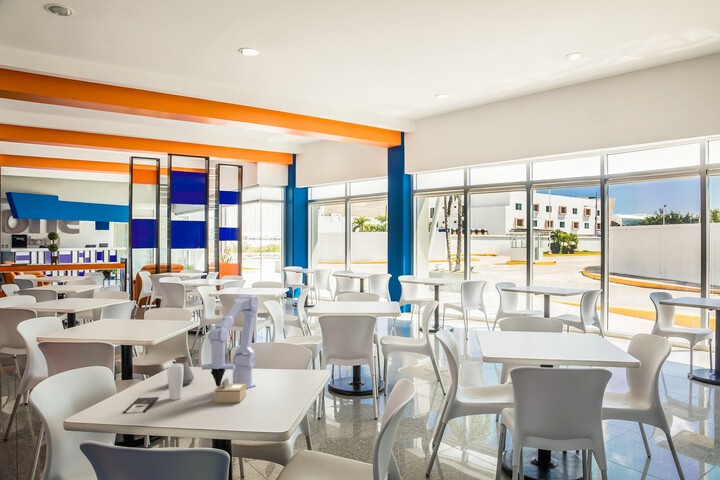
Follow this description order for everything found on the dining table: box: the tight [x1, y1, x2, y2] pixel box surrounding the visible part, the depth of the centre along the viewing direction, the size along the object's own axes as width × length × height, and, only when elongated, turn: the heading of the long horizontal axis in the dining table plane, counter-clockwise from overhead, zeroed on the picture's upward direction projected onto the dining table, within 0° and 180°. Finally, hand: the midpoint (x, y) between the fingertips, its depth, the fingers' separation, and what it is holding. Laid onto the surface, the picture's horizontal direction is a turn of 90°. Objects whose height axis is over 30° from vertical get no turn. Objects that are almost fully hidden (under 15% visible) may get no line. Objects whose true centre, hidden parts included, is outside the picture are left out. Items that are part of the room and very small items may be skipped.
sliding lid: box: [213, 377, 246, 392], centre depth 209 cm, size 11×9×4 cm
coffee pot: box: [169, 356, 195, 387], centre depth 229 cm, size 21×12×15 cm, turn 6°
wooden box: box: [214, 386, 247, 404], centre depth 209 cm, size 11×9×5 cm
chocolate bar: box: [122, 396, 160, 414], centre depth 203 cm, size 9×1×18 cm
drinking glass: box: [166, 363, 184, 401], centre depth 211 cm, size 7×7×15 cm
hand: (218, 385), depth 210 cm, fingers closed
